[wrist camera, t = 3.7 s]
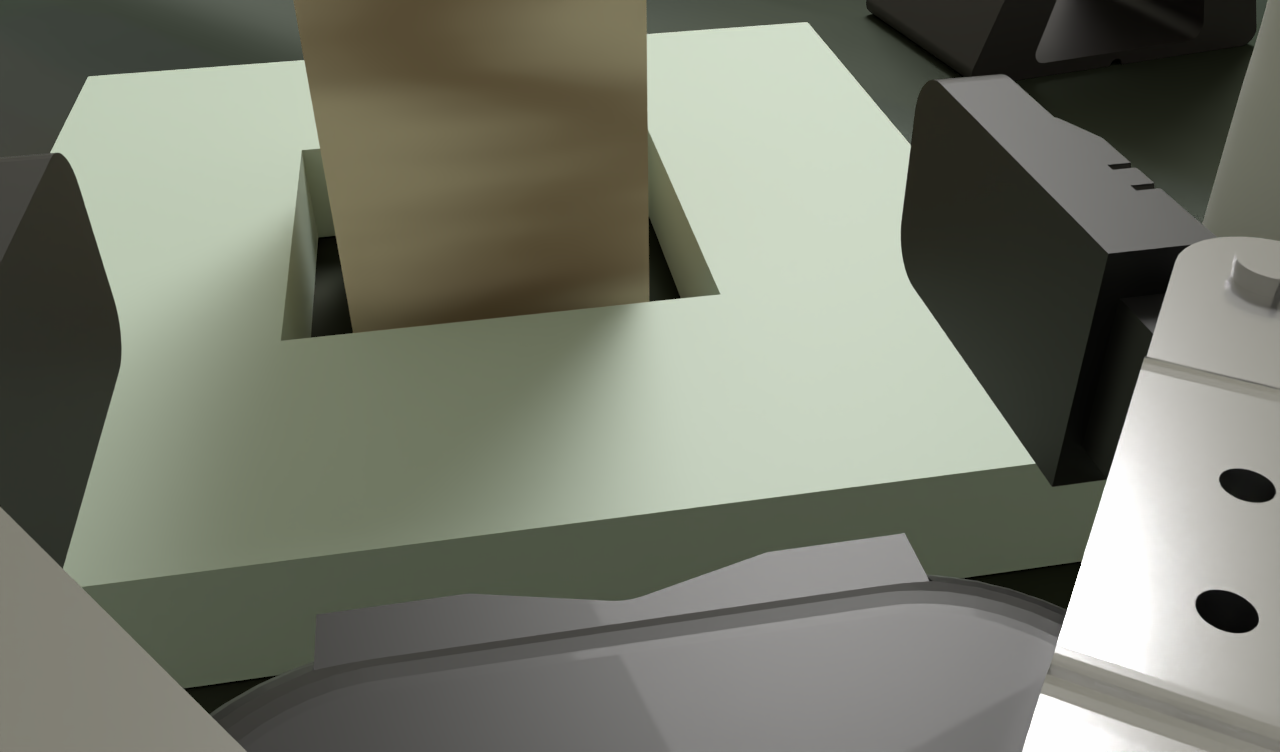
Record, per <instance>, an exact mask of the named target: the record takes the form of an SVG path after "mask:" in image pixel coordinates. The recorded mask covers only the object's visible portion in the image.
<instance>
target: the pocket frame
mask: <svg viewBox="0 0 1280 752" xmlns="http://www.w3.org/2000/svg"><path fill="white" fill-rule="evenodd" d="M647 112H648V211H649V218H650V220H651V223H652V225H653V228H654V230H655V233H656V236H657V238H658V241H659V243H660V246H661V248H662V251H663V254H664V256H665V259H666V261H667V264H668V267H669V269H670V272H671V274H672V277H673V279H674V282H675V285H676V287H677V290H678V292H679V295H680V297H681V299H672V300H662V301H653V302H643V303H634V304H624V305H615V306H605V307H596V308H586V309H577V310H568V311H558V312H549V313H539V314H530V315H520V316H511V317H501V318H492V319H482V320H473V321H464V322H454V323H445V324H435V325H426V326H416V327H407V328H397V329H388V330H378V331H369V332H360V333H350V334H341V335H331V336H322V337H312V338H311V328H312V314H313V301H314V288H315V274H316V261H317V247H318V238H319V237H329V236H336V235H335V229H334V223H333V218H332V212H331V207H330V201H329V196H328V190H327V184H326V179H325V173H324V168H323V162H322V156H321V151H320V145H319V140H318V134H317V129H316V123H315V117H314V112H313V106H312V101H311V95H310V90H309V84H308V78H307V73H306V67H305V62H304V60H301V61H288V62H274V63H261V64H248V65H235V66H222V67H208V68H195V69H182V70H169V71H156V72H142V73H129V74H116V75H103V76H89V77H88V78H87V80H86V82H85V84H84V86H83V88H82V90H81V92H80V94H79V96H78V98H77V100H76V102H75V104H74V106H73V108H72V110H71V112H70V114H69V116H68V118H67V120H66V122H65V124H64V126H63V128H62V130H61V132H60V134H59V136H58V138H57V140H56V142H55V144H54V146H53V148H52V150H51V152H50V153H61V154H62V155H63V156H64V157H65V158H66V159H67V160H68V162H69V163H70V165H71V167H72V169H73V171H74V173H75V176H76V179H77V181H78V184H79V188H80V191H81V194H82V197H83V200H84V204H85V207H86V210H87V213H88V217H89V220H90V223H91V226H92V230H93V233H94V236H95V239H96V242H97V246H98V249H99V252H100V255H101V259H102V262H103V265H104V268H105V272H106V275H107V278H108V281H109V284H110V288H111V291H112V294H113V297H114V301H115V304H116V308H117V313H118V318H119V324H120V331H121V346H122V353H121V365H120V370H119V374H118V378H117V381H116V385H115V388H114V392H113V395H112V399H111V402H110V406H109V409H108V413H107V416H106V420H105V423H104V427H103V430H102V434H101V437H100V441H99V444H98V448H97V451H96V455H95V458H94V462H93V465H92V469H91V472H90V476H89V479H88V483H87V486H86V490H85V493H84V497H83V500H82V504H81V507H80V511H79V514H78V518H77V521H76V525H75V528H74V532H73V535H72V539H71V542H70V546H69V549H68V553H67V556H66V560H65V563H64V567H63V570H64V571H66V572H67V573H68V574H69V575H70V576H71V577H72V578H73V579H74V580H75V581H76V582H77V583H78V584H79V585H80V586H81V587H82V588H83V589H84V590H85V591H86V592H87V593H88V594H89V595H90V596H91V597H92V598H93V599H94V600H95V601H96V602H97V603H98V604H99V605H100V606H101V607H102V608H103V609H104V610H105V611H106V612H107V613H108V614H109V615H110V616H111V617H112V618H113V619H114V620H115V621H116V622H117V623H118V624H119V625H120V626H121V627H122V628H123V629H124V630H125V631H126V632H127V633H128V634H129V635H130V636H131V637H132V638H133V639H134V640H135V641H136V642H137V643H138V644H139V645H140V646H141V647H142V648H143V649H144V650H145V651H146V652H147V653H148V654H149V655H150V656H151V657H152V658H153V659H154V660H155V661H156V662H157V663H158V664H159V665H160V666H161V667H162V668H163V669H164V670H165V671H166V672H167V673H168V674H169V675H170V676H171V677H172V678H173V679H174V680H175V681H176V682H177V683H178V684H179V685H180V686H181V687H182V688H190V687H197V686H205V685H212V684H219V683H226V682H233V681H240V680H247V679H254V678H261V677H268V676H275V675H280V674H282V673H284V672H287V671H289V670H291V669H294V668H297V667H299V666H302V665H305V664H308V663H310V662H313V661H314V652H315V630H316V614H323V613H330V612H338V611H345V610H352V609H359V608H367V607H374V606H381V605H388V604H395V603H403V602H410V601H417V600H424V599H432V598H439V597H446V596H453V595H461V594H468V593H469V594H488V595H508V596H527V597H547V598H566V599H586V600H605V601H622V600H629V599H634V598H638V597H642V596H645V595H647V594H650V593H653V592H656V591H659V590H662V589H664V588H667V587H670V586H673V585H676V584H679V583H681V582H684V581H687V580H690V579H693V578H696V577H698V576H701V575H704V574H707V573H710V572H712V571H715V570H718V569H721V568H724V567H727V566H729V565H732V564H735V563H738V562H741V561H744V560H746V559H749V558H752V557H755V556H758V555H761V554H763V553H766V552H772V551H779V550H786V549H794V548H801V547H808V546H815V545H823V544H830V543H837V542H844V541H851V540H859V539H866V538H873V537H880V536H888V535H895V534H902V533H905V535H906V537H907V539H908V541H909V542H910V544H911V546H912V548H913V550H914V552H915V554H916V556H917V558H918V560H919V562H920V564H921V566H922V567H923V569H924V571H925V573H926V575H940V576H948V577H955V578H967V577H974V576H981V575H988V574H995V573H1002V572H1009V571H1016V570H1023V569H1030V568H1038V567H1045V566H1052V565H1059V564H1066V563H1073V562H1080V561H1082V560H1083V557H1084V554H1085V550H1086V547H1087V544H1088V541H1089V537H1090V534H1091V531H1092V527H1093V524H1094V521H1095V518H1096V514H1097V511H1098V508H1099V504H1100V501H1101V498H1102V495H1103V491H1104V488H1105V485H1106V482H1107V480H1101V481H1093V482H1086V483H1078V484H1071V485H1064V486H1056V487H1052V486H1051V485H1050V483H1049V482H1048V480H1047V479H1046V478H1045V476H1044V475H1043V473H1042V472H1041V470H1040V469H1039V468H1038V466H1037V465H1036V463H1035V462H1034V460H1033V459H1032V457H1031V456H1030V455H1029V453H1028V452H1027V450H1026V449H1025V447H1024V446H1023V445H1022V443H1021V442H1020V440H1019V439H1018V437H1017V436H1016V434H1015V433H1014V432H1013V430H1012V429H1011V427H1010V426H1009V424H1008V423H1007V422H1006V420H1005V419H1004V417H1003V416H1002V414H1001V413H1000V411H999V410H998V409H997V407H996V406H995V404H994V403H993V401H992V400H991V399H990V397H989V396H988V394H987V393H986V391H985V390H984V388H983V387H982V386H981V384H980V383H979V381H978V380H977V378H976V377H975V376H974V374H973V373H972V371H971V370H970V368H969V367H968V365H967V364H966V363H965V361H964V360H963V358H962V357H961V355H960V354H959V353H958V351H957V350H956V348H955V347H954V345H953V344H952V342H951V341H950V340H949V338H948V337H947V335H946V334H945V332H944V331H943V330H942V328H941V327H940V325H939V324H938V322H937V321H936V319H935V318H934V317H933V315H932V314H931V312H930V311H929V309H928V308H927V307H926V305H925V304H924V302H923V301H922V299H921V298H920V296H919V295H918V294H917V292H916V291H915V289H914V288H913V286H912V285H911V283H910V281H909V279H908V276H907V273H906V270H905V267H904V263H903V257H902V250H901V220H902V212H903V204H904V196H905V188H906V180H907V173H908V165H909V157H910V149H911V145H910V144H909V143H908V142H907V140H906V139H905V138H904V137H903V136H902V134H901V133H900V132H899V131H898V130H897V128H896V127H895V126H894V125H893V124H892V122H891V121H890V120H889V119H888V118H887V116H886V115H885V114H884V113H883V112H882V111H881V109H880V108H879V107H878V106H877V105H876V103H875V102H874V101H873V100H872V99H871V97H870V96H869V95H868V94H867V93H866V91H865V90H864V89H863V88H862V87H861V86H860V84H859V83H858V82H857V81H856V80H855V78H854V77H853V76H852V75H851V74H850V72H849V71H848V70H847V69H846V68H845V66H844V65H843V64H842V63H841V62H840V60H839V59H838V58H837V57H836V56H835V55H834V53H833V52H832V51H831V50H830V49H829V47H828V46H827V45H826V44H825V43H824V41H823V40H822V39H821V38H820V37H819V35H818V34H817V33H816V32H815V31H814V29H813V28H812V27H811V26H810V25H809V24H808V22H803V23H789V24H776V25H763V26H750V27H737V28H723V29H710V30H697V31H684V32H671V33H657V34H647Z"/></svg>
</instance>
